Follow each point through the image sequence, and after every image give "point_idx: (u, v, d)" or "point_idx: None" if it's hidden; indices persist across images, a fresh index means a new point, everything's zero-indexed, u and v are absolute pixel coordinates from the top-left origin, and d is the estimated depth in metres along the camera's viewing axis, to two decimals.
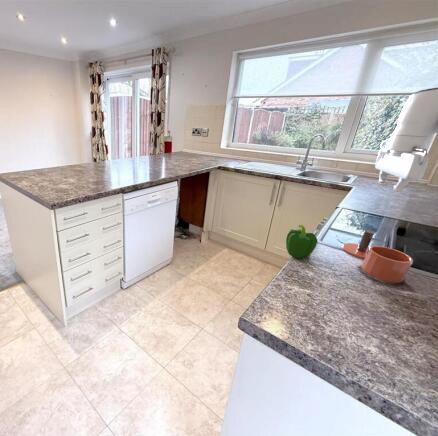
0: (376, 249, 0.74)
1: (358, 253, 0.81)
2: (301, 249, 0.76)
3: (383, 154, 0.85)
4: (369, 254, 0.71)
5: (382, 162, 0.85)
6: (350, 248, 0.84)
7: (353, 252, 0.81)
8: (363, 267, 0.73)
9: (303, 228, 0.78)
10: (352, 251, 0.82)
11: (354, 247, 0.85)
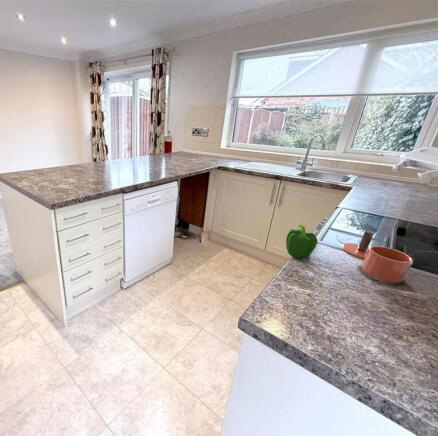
0: (376, 249, 0.74)
1: (358, 253, 0.81)
2: (301, 249, 0.76)
3: None
4: (369, 254, 0.71)
5: None
6: (350, 248, 0.84)
7: (353, 252, 0.81)
8: (363, 267, 0.73)
9: (303, 228, 0.78)
10: (352, 251, 0.82)
11: (354, 247, 0.85)
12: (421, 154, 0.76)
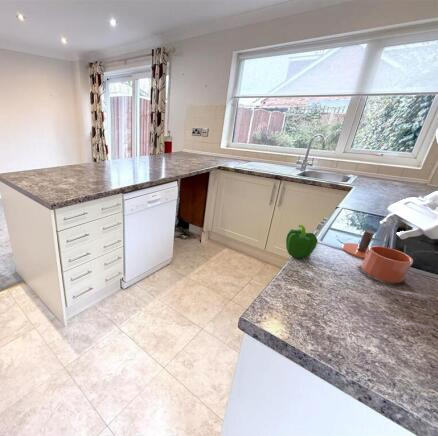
0: (376, 249, 0.74)
1: (358, 253, 0.81)
2: (301, 249, 0.76)
3: None
4: (369, 254, 0.71)
5: None
6: (350, 248, 0.84)
7: (353, 252, 0.81)
8: (363, 267, 0.73)
9: (303, 228, 0.78)
10: (352, 251, 0.82)
11: (354, 247, 0.85)
12: (403, 208, 0.79)
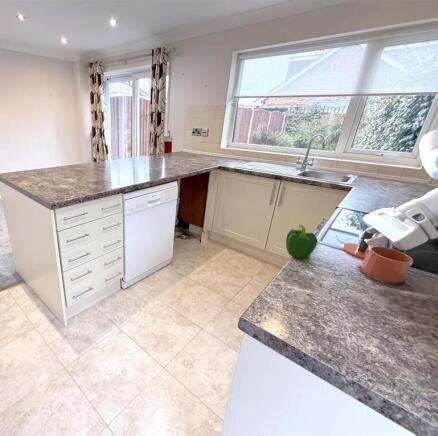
0: (376, 249, 0.74)
1: (358, 253, 0.81)
2: (301, 249, 0.76)
3: None
4: (369, 254, 0.71)
5: None
6: (350, 248, 0.84)
7: (353, 252, 0.81)
8: (363, 267, 0.73)
9: (303, 228, 0.78)
10: (352, 251, 0.82)
11: (354, 247, 0.85)
12: (376, 219, 0.82)
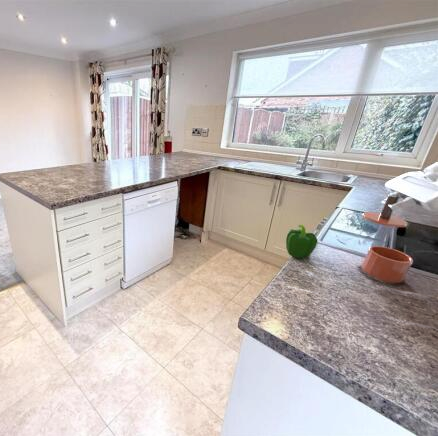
0: (376, 249, 0.74)
1: (381, 220, 0.72)
2: (301, 249, 0.76)
3: None
4: (369, 254, 0.71)
5: None
6: (371, 216, 0.75)
7: (375, 219, 0.73)
8: (363, 267, 0.73)
9: (303, 228, 0.78)
10: (374, 218, 0.73)
11: (376, 215, 0.76)
12: (402, 183, 0.73)
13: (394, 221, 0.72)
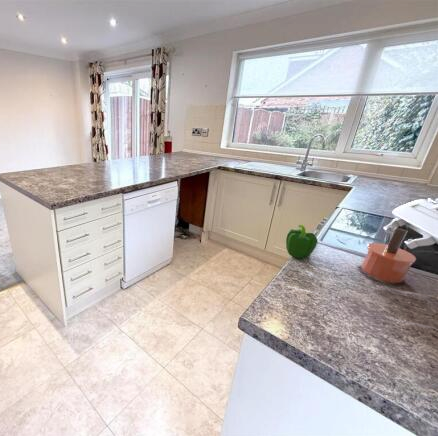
0: None
1: (388, 255, 0.67)
2: (301, 249, 0.76)
3: None
4: (369, 254, 0.71)
5: None
6: (377, 249, 0.70)
7: (381, 254, 0.68)
8: (363, 267, 0.73)
9: (303, 228, 0.78)
10: (380, 253, 0.69)
11: (381, 248, 0.71)
12: (411, 212, 0.68)
13: (401, 256, 0.67)
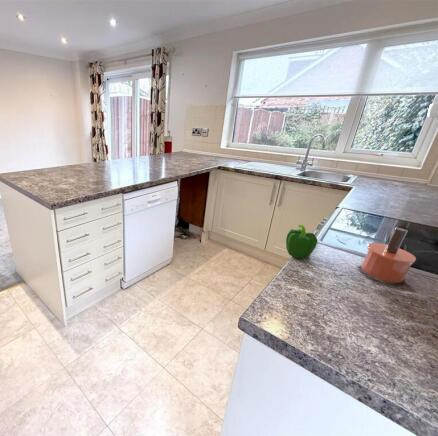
0: None
1: (388, 255, 0.67)
2: (301, 249, 0.76)
3: None
4: (369, 254, 0.71)
5: None
6: (377, 249, 0.70)
7: (381, 254, 0.68)
8: (363, 267, 0.73)
9: (303, 228, 0.78)
10: (380, 253, 0.69)
11: (381, 248, 0.71)
12: None
13: (401, 256, 0.67)
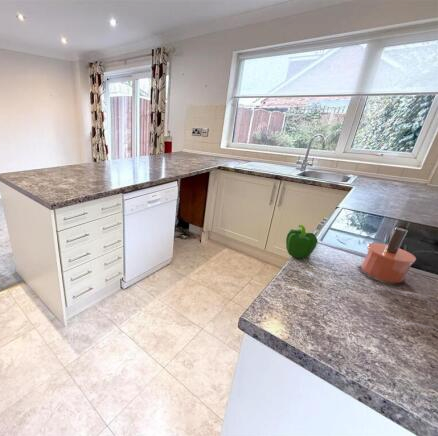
0: None
1: (388, 255, 0.67)
2: (301, 249, 0.76)
3: None
4: (369, 254, 0.71)
5: None
6: (377, 249, 0.70)
7: (381, 254, 0.68)
8: (363, 267, 0.73)
9: (303, 228, 0.78)
10: (380, 253, 0.69)
11: (381, 248, 0.71)
12: None
13: (401, 256, 0.67)
